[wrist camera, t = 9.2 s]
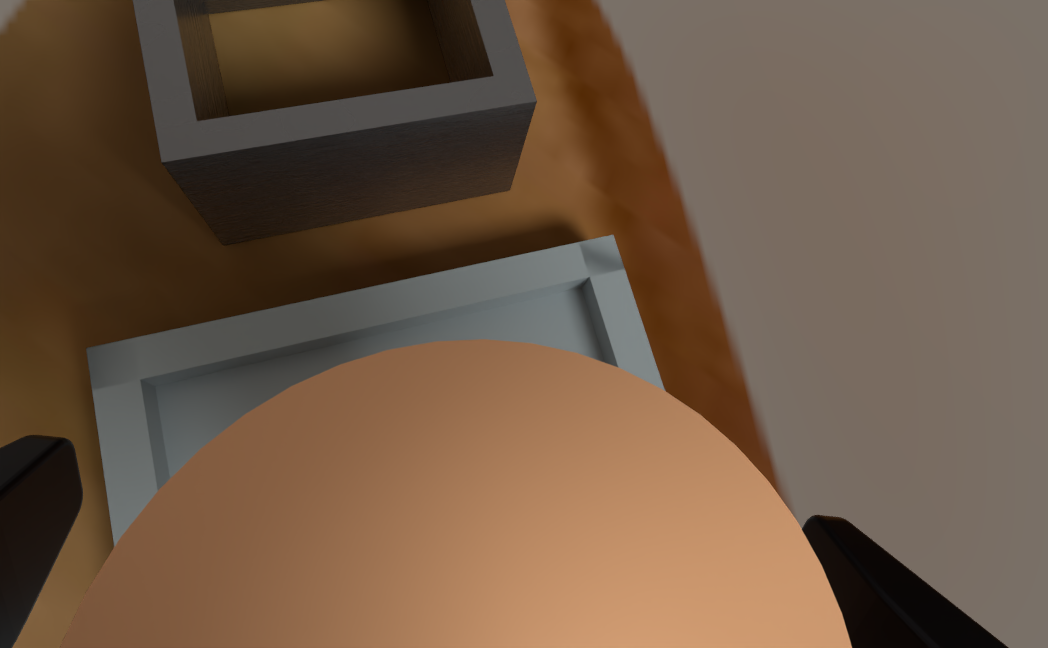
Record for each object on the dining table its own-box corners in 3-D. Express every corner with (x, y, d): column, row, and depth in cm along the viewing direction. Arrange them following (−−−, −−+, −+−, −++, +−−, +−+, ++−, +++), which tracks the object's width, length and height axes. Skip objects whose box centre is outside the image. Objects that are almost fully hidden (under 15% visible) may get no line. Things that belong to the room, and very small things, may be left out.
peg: (545, 616, 16) (998, 1045, 3) (361, 678, 15) (85, 1561, 3) (496, 437, 17) (719, 271, 4) (320, 486, 16) (-32, 450, 3)
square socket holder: (509, 189, 19) (537, 100, 15) (223, 245, 18) (161, 162, 13) (442, -36, 21) (449, -174, 17) (174, -6, 19) (106, -151, 15)
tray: (752, 731, 17) (784, 753, 15) (204, 957, 14) (180, 1009, 12) (598, 254, 19) (613, 234, 18) (114, 361, 16) (86, 348, 15)
